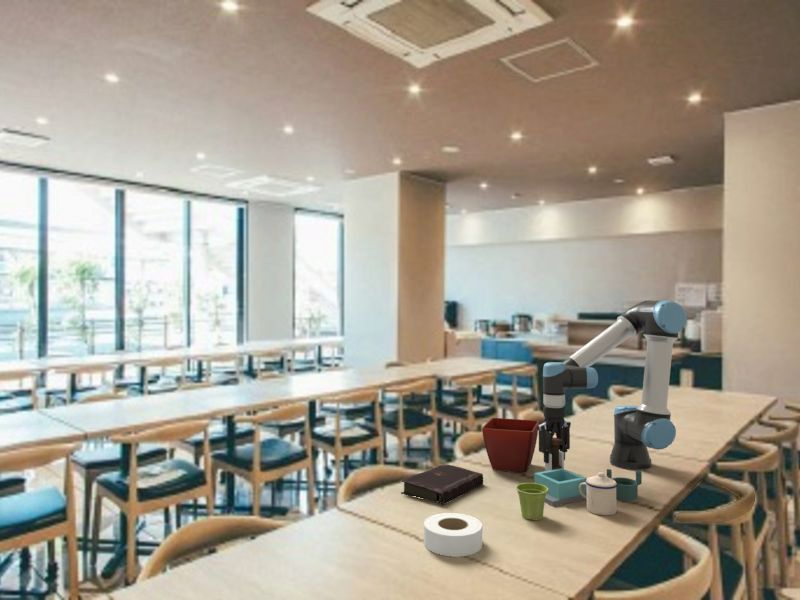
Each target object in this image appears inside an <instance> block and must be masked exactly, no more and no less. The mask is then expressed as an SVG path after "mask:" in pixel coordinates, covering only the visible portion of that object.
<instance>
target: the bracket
mask: <svg viewBox="0 0 800 600" xmlns="http://www.w3.org/2000/svg"><path fill="white" fill-rule="evenodd" d="M612 473H613V471H612V469H611V468H606V476H607V477H608V478H611V479H613V480H615V481H616V483H617V487H616V501H617V500H618V501H620V500H621V502H635V500H636V501H638V499H639V493H638V492H639V490H638V489H639V487H638V486H640V485H642V481H643V480H642V478H643V477H642V470H635V480H634V479H633V478H630V477H623V476H622V477H612V476H613V475H612Z"/></svg>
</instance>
